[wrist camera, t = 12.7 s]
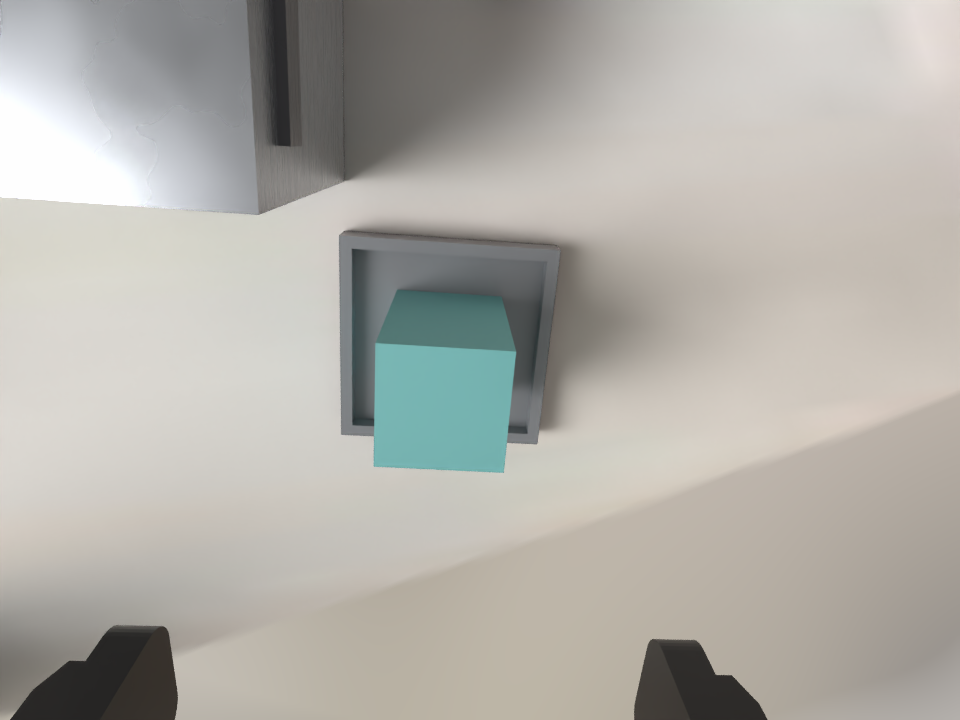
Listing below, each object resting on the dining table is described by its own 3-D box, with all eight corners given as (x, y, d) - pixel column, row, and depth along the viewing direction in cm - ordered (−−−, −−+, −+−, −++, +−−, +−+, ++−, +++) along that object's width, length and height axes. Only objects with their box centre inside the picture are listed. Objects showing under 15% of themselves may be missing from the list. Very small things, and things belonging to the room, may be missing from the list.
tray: (534, 432, 29) (537, 444, 27) (346, 422, 28) (341, 434, 27) (556, 245, 25) (560, 250, 24) (344, 230, 25) (339, 235, 24)
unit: (351, 182, 24) (271, 215, 14) (155, 167, 24) (-77, 191, 13) (350, -82, 21) (246, -290, 11) (124, -103, 21) (-211, -343, 10)
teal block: (493, 391, 27) (503, 472, 21) (394, 386, 27) (373, 466, 20) (501, 296, 26) (516, 351, 19) (397, 289, 25) (375, 342, 19)
